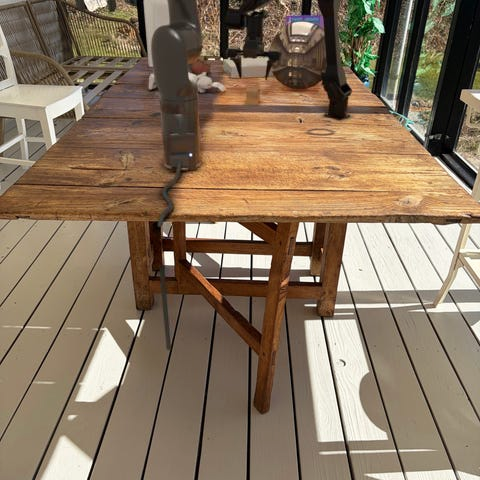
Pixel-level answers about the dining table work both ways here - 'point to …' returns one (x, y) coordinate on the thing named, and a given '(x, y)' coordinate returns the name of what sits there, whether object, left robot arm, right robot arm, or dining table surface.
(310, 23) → the sphere
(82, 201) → the dining table surface
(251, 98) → the brick
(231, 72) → the disc drive
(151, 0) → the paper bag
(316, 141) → the dining table surface
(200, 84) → the toy
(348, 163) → the dining table surface
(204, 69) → the anatomical model
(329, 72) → the right robot arm
